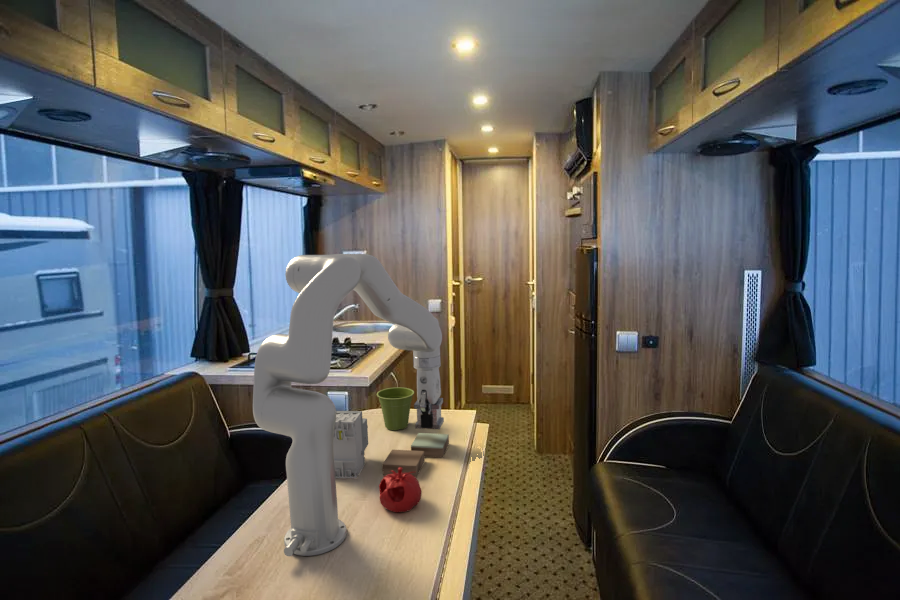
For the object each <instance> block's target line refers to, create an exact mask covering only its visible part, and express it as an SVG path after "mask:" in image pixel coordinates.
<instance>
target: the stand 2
mask: <svg viewBox="0 0 900 600" xmlns="http://www.w3.org/2000/svg"><path fill="white" fill-rule="evenodd" d="M449 435H450V434H449V433H430V432H429V433H427V432H417V435H416V437H415V438H414V440H413V441H412V443H411V445H410V450H413V451H424V458H427V457H428V458H444V455H445V454H446V452H445V451H447V450H446V449H448V447H449V445H450V437H449ZM448 444H449V445H448Z"/></svg>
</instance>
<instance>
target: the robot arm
mask: <svg viewBox="0 0 900 600" xmlns="http://www.w3.org/2000/svg"><path fill="white" fill-rule="evenodd" d="M284 275H285V281H286V283H287V285H288V287H290V289H292V290H293V291H294V292H296V293H297V294H298V295H297V296H296V298H295V300H294V302H293V304H292V307H291V310H290V317H289V327H288V334H286V333H285V334H284V333H278V334H272V335H270V336H269V337H266V338H265V340H263V341H262V343H261V344H260V345H259V347H258V350H257V351H256V355H255V360H254V369H253V371H254V373H253V389H252V390H253V392H252V414H253V420H254V422H255V423H256V425H257V426H258V427H259V428H260V429H261V430H263V431H266V432H270V433H274V434H278V435H283V436H285V437H290V438H291V439H292V443H291V444H290V445H291V446H290V448H289V449H288V452H287V453H286V455H285V457H286V458H285V472H286V481H287V492H288V493H287V494H288V505H289V506H288V507H289V519H290V528H289V529H288V530H287V531H286V533H285V534H284V538H283V544H284V546H285V547H284V549H283V553H284V555H285V556H286V557H292V556H293V555H298V556H305V557H307V556H308V557H310V556H311V557H312V556H317V555H321V554H322V555H323V554H325V553H328V552H330V551H332V550H334V549H335V548H337V547H339V546H340V545H341V544H342V543H343V542H344V541H345V539H346V537H347V534H348V533H347V525H346V524H345V522H344V521H343V520H341V519H339V513H338V512H339V511H338V509H339V508H338V497H337V496H338V493H337V482H336V478H335V465H334V450H333V440H334V428H335V422H336V411H337V410H336V409H337V408H336V405H335V403H334V401H333V400H332V399H331V398H330V397H329V396H328V395H326V394H324V393H321V392H318V391H314V390H308V389H304V388H303V389H302V388H296V387H295V388H294V387H292V383H295V384H302V385H317V384H320V383H323V382H324V381H326V379H327V378H328V376H329V375H330V370H331V363H332V347H333V345H332V344H333V329H334V320H335V315H336V312H337V309H338V308H339V306H340V304H341V303H342V302H343V300H345V298H346V297H347V296H348V295H349V294H350V293H351V292H352V291H354V292H356V293H357V295H358V296H359V297H360V299H362V301H363V302H364V304H365V306H367V308H368V309H369V311H370V312H372V314H373V315H374V316H375V317H377V318H379V319H382V320H383V321H386V322H389V323H391V324H392V326H391V327H390V328H389V330H388V333H387V340H388V343H389V344H390V346H392V347H393V348H395V349H398V350H403V351H412V353H413V354H412V355H413V356H412V357H413V358H412V359H413V360H412V361H413V362H412V363H413V368H414V369H415V370H416V397H417V400H418V403H419V404H420V410H421V411H420V414H421V427H422V428H432V427H433V421H432V414H431V404H433V405H434V404H435V403H436V402H437V400H438V399H439V398H441V395H442V388H441V387H442V386H441V376H440V375H441V374H440V367H441V344H442V342H443V332H442V330H441V327H440V321H439V319H438V318H437V317H435V316H434V315H433V313H432V312H431V311H429V309H428V308H426V307H425V306H423V305H422V304H421V303H419V302H417V301H415V300H414V299H412V298H411V297H409V296H408V295H405V294H404V293H402V291H401V290H400V289H399V287H398V286H397V285H396V283H395V282H394V281H393V279H392V277H391V276H390V274H389V273H388V272H387V270H386V268H385V267H384V266H383V263H381V261H380V260H379V258H377V256H374V255H372V254H367V253H334V254H300V255H297V256H295V257H293V258H292V259H291V260H290V261H289V262H288V264H287V266H286V269H285V274H284ZM426 401H429V403H426ZM426 405H429V407H428V408H427V407H426Z"/></svg>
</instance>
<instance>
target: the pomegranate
mask: <svg viewBox="0 0 900 600" xmlns="http://www.w3.org/2000/svg"><path fill="white" fill-rule="evenodd" d="M402 469H403V468H402V467H399V468H398V473H396V472H395V471H392V472H393V474H388V475H383V477H382V479H381V480H380V483H379V484H378V489H379V502H380V504H381V506H382V507H383V509H386V510H389V511H390V512H393V513H405V512H410V511H412V509H414V507H416V506H417V505H418V504H419V503H420V502H421V499H422V488H421V485H420V483H419V480H418V478H417V477H414V476H413V475H412V474H409V473H414V472H409V473H402ZM389 472H390V471H389ZM415 472H416V471H415Z"/></svg>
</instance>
